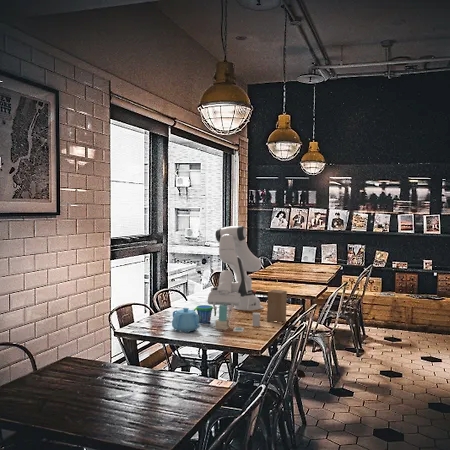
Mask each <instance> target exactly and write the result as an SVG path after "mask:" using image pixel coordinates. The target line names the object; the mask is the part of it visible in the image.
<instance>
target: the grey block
mask: <svg viewBox="0 0 450 450" xmlns="http://www.w3.org/2000/svg"><path fill="white" fill-rule="evenodd" d="M260 325H261V313H260V312H252V326H260Z"/></svg>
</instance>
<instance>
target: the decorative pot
mask: <svg viewBox="0 0 450 450" xmlns="http://www.w3.org/2000/svg"><path fill="white" fill-rule="evenodd" d="M171 326H172V328H173V329H174V330H175V331H176V332H184V333H187V334H188V333H190V332H193V331H196V330H197V329H199V328H200V327H201V326H200V322H199V315H198V313H197V311H196V310H195V311H194V309H189V307H184V308H182V309H180V310H177V309H176V310H173V312H172V320H171Z"/></svg>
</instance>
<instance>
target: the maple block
mask: <svg viewBox="0 0 450 450" xmlns="http://www.w3.org/2000/svg"><path fill="white" fill-rule="evenodd" d="M230 320H231V319H228V318H227V320H226V321H219V318H217V319H216V320H215V321H214V324H215V325H214V327H215V328H214V329H216V330H224V331H225V330H228V329H229V328H230Z"/></svg>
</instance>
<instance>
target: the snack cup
mask: <svg viewBox="0 0 450 450" xmlns="http://www.w3.org/2000/svg"><path fill="white" fill-rule="evenodd" d="M193 310H194V311H195V312H196V314H198V315H199V324H200V323H201V324H209V323H210V322H211V317H212V312H213V311H214V314H213V316H214V317H216V316H217V310H214V307H213V305H210V304H207V305H206V304H201V305H197V306H196V307H195V308H193Z"/></svg>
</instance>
